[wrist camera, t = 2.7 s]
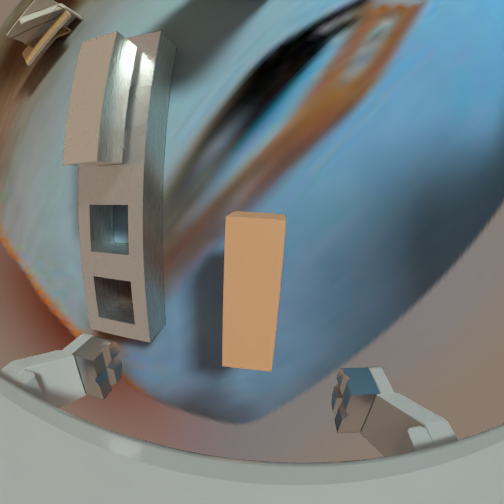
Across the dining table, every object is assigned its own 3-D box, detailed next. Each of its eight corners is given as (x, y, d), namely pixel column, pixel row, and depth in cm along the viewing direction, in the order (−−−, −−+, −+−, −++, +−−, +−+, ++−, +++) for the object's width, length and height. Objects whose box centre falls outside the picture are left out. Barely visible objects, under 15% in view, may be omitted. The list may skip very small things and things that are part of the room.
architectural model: (90, 25, 19) (49, -1, 11) (48, 72, 20) (3, 57, 13) (80, 15, 18) (42, -9, 11) (41, 59, 20) (-1, 44, 12)
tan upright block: (284, 209, 21) (286, 220, 14) (274, 320, 23) (271, 371, 16) (243, 206, 21) (225, 216, 14) (238, 317, 23) (222, 365, 16)
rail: (176, 48, 19) (141, 9, 12) (165, 323, 24) (131, 366, 17) (116, 59, 19) (72, 32, 12) (110, 313, 25) (68, 347, 18)
